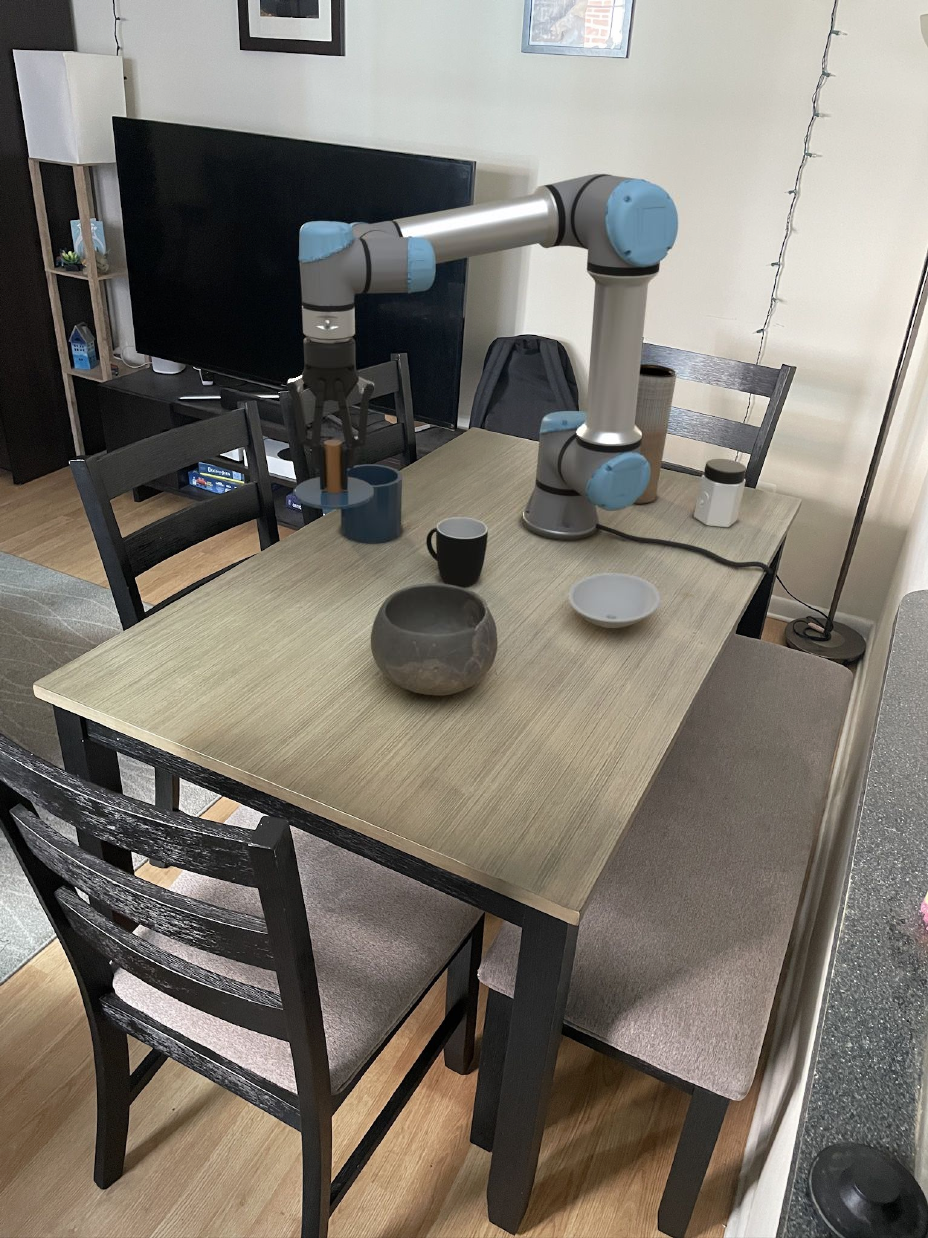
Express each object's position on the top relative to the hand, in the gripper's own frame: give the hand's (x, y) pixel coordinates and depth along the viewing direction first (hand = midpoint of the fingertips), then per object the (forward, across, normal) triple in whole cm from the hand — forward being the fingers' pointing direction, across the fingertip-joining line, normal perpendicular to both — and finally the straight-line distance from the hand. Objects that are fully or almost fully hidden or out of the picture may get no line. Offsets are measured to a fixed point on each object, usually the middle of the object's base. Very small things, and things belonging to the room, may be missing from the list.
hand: (334, 486), depth 143 cm
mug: (+20, +20, +6) cm, 29 cm away
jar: (+20, +77, +34) cm, 87 cm away
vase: (+20, +63, +46) cm, 80 cm away
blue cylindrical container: (+19, +5, +25) cm, 32 cm away
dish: (+20, +46, -9) cm, 51 cm away
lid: (+1, 0, 0) cm, 1 cm away
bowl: (+20, +15, -27) cm, 37 cm away
